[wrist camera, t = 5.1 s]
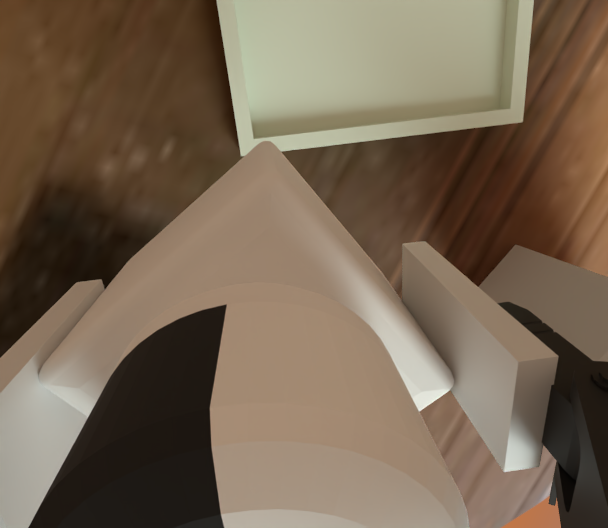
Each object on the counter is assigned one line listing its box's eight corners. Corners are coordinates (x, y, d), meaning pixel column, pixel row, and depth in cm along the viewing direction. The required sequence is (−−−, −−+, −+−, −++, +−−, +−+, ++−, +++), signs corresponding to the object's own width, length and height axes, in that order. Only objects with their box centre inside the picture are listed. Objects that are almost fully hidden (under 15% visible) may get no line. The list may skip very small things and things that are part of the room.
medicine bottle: (254, 375, 18) (243, 826, 7) (125, 262, 15) (-223, 678, 4) (384, 274, 17) (629, 621, 6) (267, 134, 14) (289, 256, 3)
